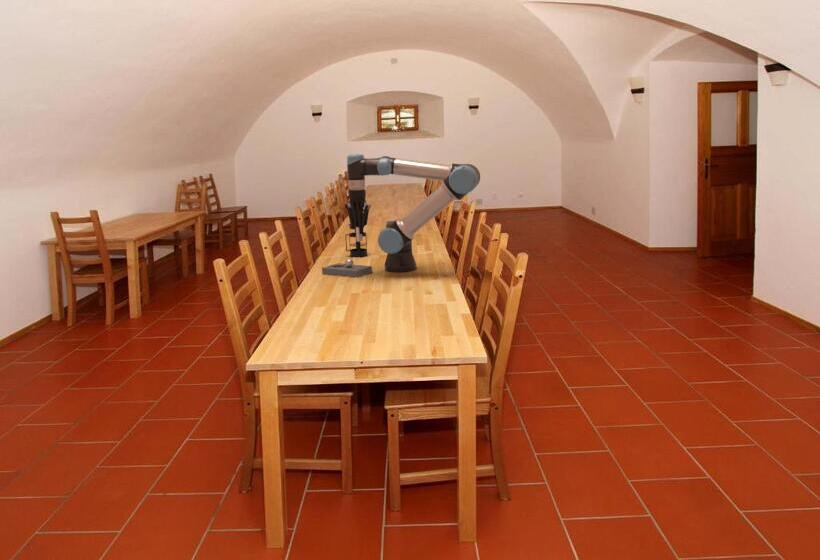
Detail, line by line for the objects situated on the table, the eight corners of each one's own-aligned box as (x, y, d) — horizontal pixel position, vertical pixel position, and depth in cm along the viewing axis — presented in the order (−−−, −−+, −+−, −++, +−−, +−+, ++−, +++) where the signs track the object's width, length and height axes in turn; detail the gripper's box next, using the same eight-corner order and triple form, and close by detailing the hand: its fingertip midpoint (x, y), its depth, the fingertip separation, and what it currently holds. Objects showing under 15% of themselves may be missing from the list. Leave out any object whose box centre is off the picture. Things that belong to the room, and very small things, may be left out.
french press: (368, 253, 390) (366, 210, 385) (369, 256, 381) (367, 212, 376) (346, 255, 388) (343, 212, 383) (347, 258, 379) (344, 214, 374)
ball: (355, 266, 341) (354, 258, 340) (350, 268, 338) (349, 259, 337) (348, 266, 343) (348, 257, 342) (343, 267, 340) (342, 259, 339)
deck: (372, 272, 341) (371, 266, 341) (356, 277, 331) (356, 271, 331) (338, 269, 352) (337, 263, 351) (322, 274, 342) (321, 267, 341)
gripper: (340, 189, 329) (343, 241, 334) (363, 190, 322) (366, 243, 327) (350, 188, 335) (353, 238, 340) (373, 188, 328) (376, 240, 333)
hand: (359, 240), depth 334 cm, fingers closed
